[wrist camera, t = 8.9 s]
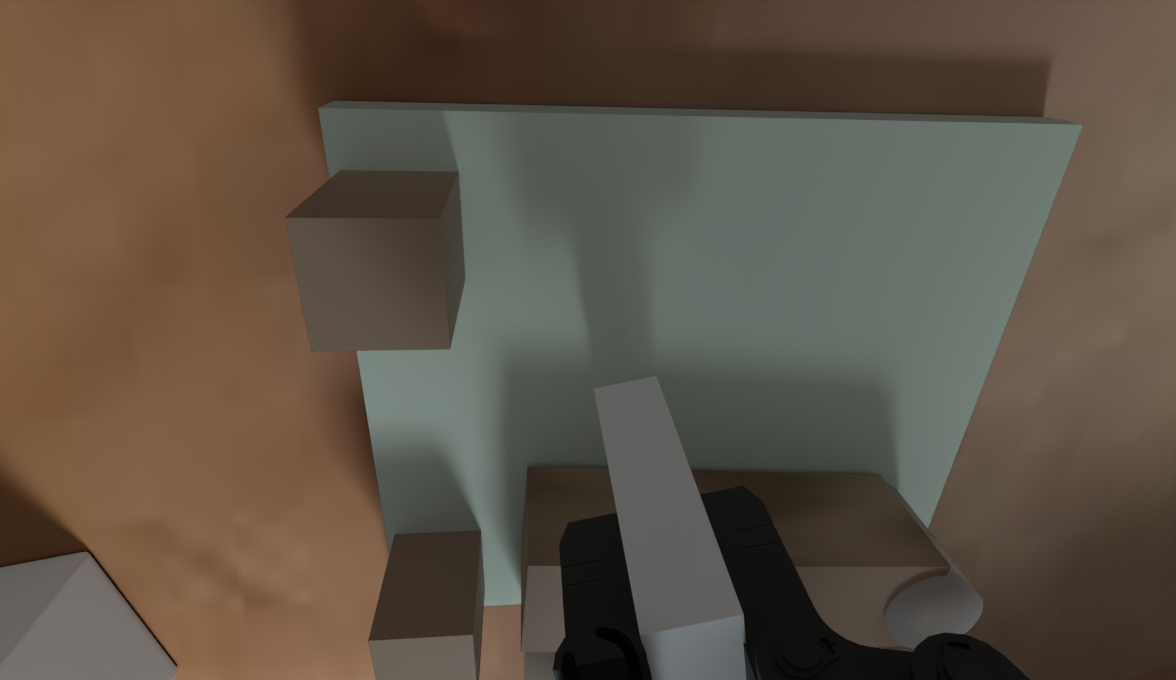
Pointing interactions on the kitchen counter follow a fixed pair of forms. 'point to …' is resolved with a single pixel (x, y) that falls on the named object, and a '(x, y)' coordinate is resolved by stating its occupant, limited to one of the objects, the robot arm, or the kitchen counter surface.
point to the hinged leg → (811, 537)
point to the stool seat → (650, 308)
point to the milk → (72, 625)
